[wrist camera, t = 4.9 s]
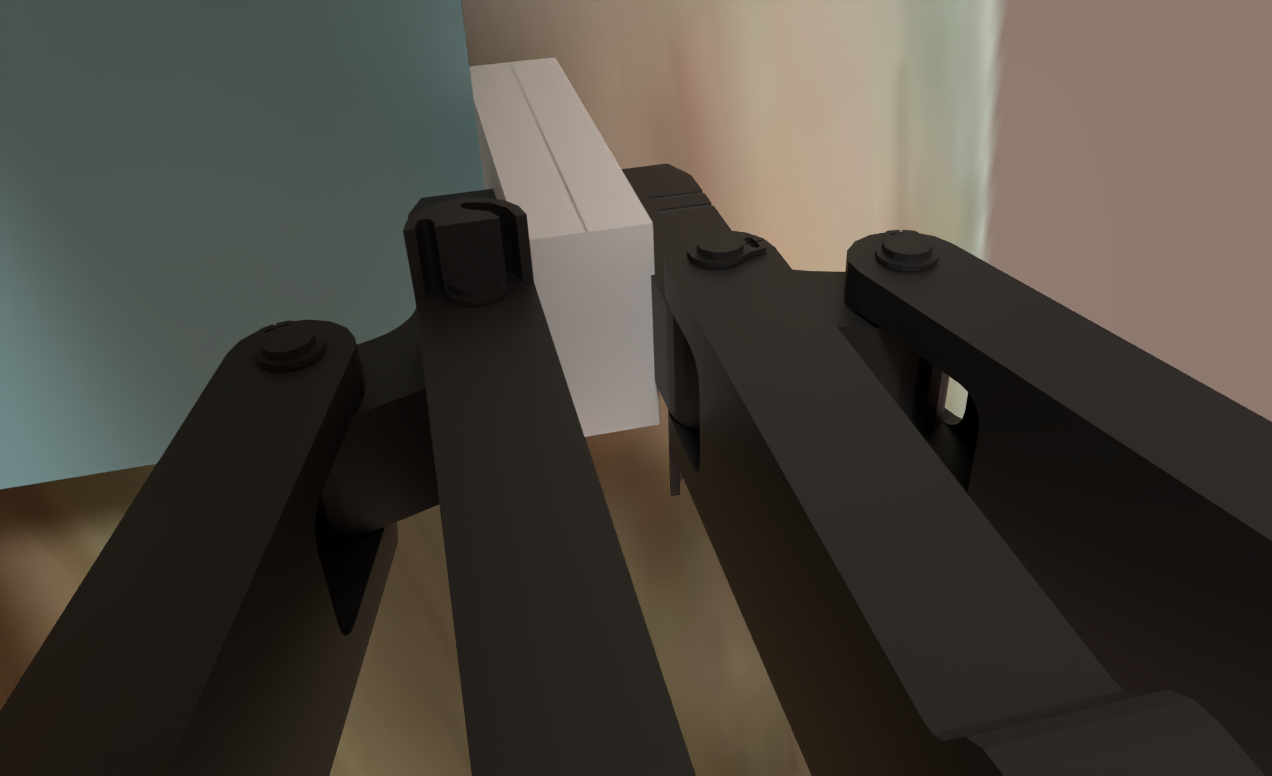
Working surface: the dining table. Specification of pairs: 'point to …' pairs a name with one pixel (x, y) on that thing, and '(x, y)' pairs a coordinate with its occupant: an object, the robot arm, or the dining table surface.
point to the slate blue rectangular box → (203, 198)
